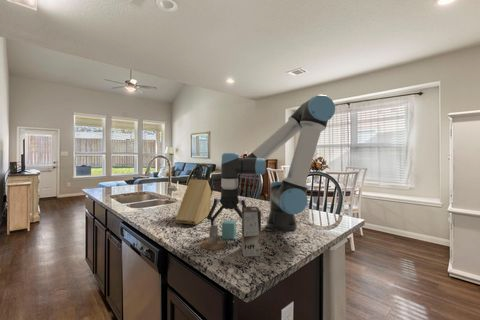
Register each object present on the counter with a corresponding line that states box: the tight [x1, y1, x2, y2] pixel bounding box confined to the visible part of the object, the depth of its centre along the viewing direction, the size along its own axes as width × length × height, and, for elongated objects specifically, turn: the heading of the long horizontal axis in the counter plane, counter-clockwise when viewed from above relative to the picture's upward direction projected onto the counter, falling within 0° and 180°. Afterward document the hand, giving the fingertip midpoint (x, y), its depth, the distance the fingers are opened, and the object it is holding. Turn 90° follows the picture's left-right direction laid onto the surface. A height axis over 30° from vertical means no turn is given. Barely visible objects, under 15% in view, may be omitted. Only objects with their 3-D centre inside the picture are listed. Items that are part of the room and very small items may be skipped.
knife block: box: [175, 163, 215, 226], centre depth 133 cm, size 11×35×31 cm, turn 170°
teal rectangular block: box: [221, 219, 237, 240], centre depth 102 cm, size 5×5×7 cm
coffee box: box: [241, 206, 262, 258], centre depth 86 cm, size 9×6×16 cm
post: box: [200, 224, 227, 251], centre depth 92 cm, size 10×10×8 cm
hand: (228, 236), depth 102 cm, fingers open, 12 cm apart
